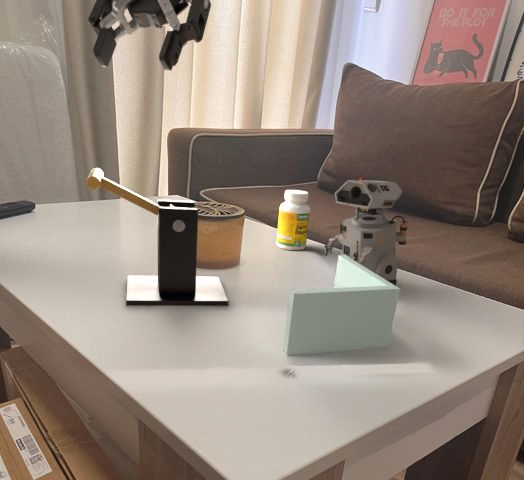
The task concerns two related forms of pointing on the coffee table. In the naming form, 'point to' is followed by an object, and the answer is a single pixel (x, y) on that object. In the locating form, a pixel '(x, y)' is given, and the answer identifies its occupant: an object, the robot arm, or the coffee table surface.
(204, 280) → the bracket
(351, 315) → the l-shaped corner panel
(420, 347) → the coffee table surface
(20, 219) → the coffee table surface
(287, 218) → the supplement bottle
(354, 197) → the figurine
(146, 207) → the tap lever
